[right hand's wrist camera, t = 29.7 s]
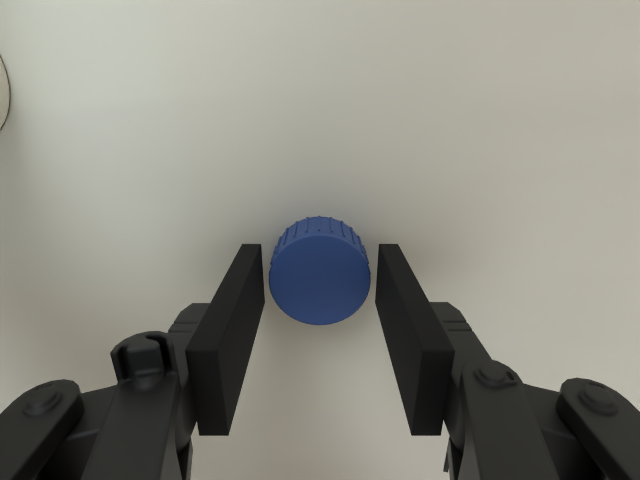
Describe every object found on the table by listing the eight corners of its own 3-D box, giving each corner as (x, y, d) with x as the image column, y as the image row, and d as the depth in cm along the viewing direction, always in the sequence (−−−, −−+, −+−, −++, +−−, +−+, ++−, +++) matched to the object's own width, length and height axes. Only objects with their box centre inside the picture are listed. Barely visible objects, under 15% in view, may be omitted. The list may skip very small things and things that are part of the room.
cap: (255, 256, 16) (245, 281, 14) (321, 195, 15) (321, 211, 13) (318, 312, 17) (318, 343, 15) (383, 259, 16) (393, 284, 14)
